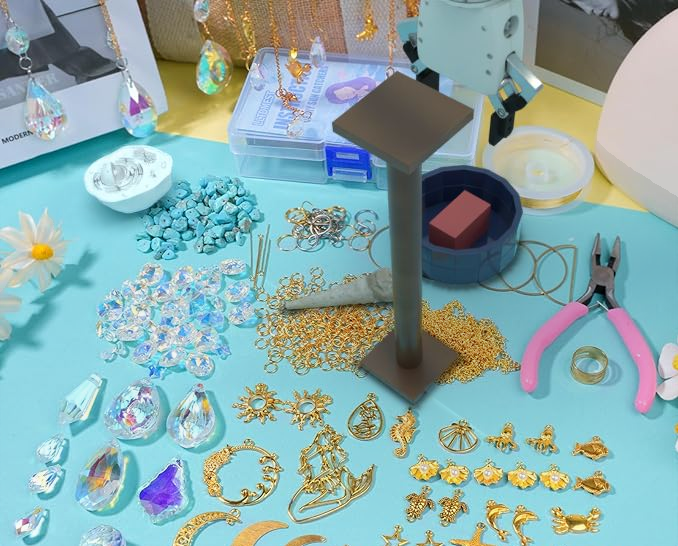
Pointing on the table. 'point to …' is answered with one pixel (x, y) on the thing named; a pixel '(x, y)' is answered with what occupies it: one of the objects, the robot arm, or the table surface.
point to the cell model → (130, 178)
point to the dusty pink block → (460, 222)
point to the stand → (405, 216)
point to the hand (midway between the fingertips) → (462, 118)
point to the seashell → (351, 292)
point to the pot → (492, 245)
